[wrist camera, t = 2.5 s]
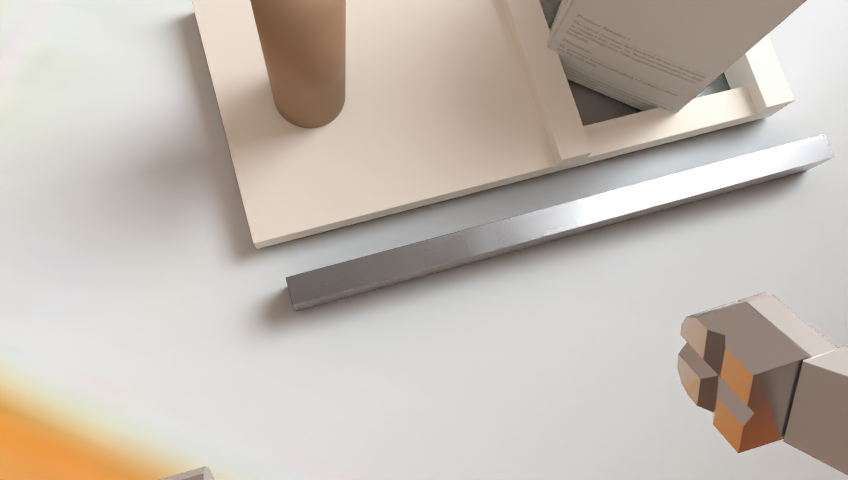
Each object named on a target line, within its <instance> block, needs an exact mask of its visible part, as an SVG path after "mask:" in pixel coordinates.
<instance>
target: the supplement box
mask: <svg viewBox="0 0 848 480" xmlns="http://www.w3.org/2000/svg"><path fill="white" fill-rule="evenodd" d="M805 1H806V0H562V1H561V3H560V6H559V8H558V11H557V13H556V15H555V18H554V20H553V23H552V25H551V28H550V35H549V38H548V40H547V47H548V48H549V49H551V50H553V51H555V52H557V53H558V55H559V58H560V61H561V64H562V67H563V69H564V72H565V75H566V78H567V79H569V80H571V81H574V82H576V83H578V84H581V85H583V86H585V87H588V88H590V89H592V90H595V91H597V92H599V93H602V94H604V95H606V96H609V97H611V98H613V99H616V100H618V101H620V102H623V103H625V104H627V105H630V106H632V107H634V108H637V109H639V110H641V111H646V110H650V109H654V108H658V107H660V108H663V109H665V110H668V111H671V112H674V113H677V112H679V111H680V110H681V109H682V108H683V107H684V106H686V105H687V104H688V103H689V102H690V101H691V100H692V99H694V98H695V97H696V96H697V95H698V94H699V93H701V92H702V91H703V90H704V89H705V88H706V87H707V86H709V85H710V84H711V83H712V82H713V81H714V80H715V79H717V78H718V77H719V76H720V75H721V74H722V73H723V72H725V71H726V70H727V69H728V68H729V67H730V66H732V65H733V64H734V63H735V62H736V61H737V60H738V59H740V58H741V57H742V56H743V55H744V54H745V53H746V52H748V51H749V50H750V49H751V48H752V47H753V46H755V45H756V44H757V43H758V42H759V41H760V40H761V39H763V38H764V37H765V36H766V35H767V34H768V33H770V32H771V31H772V30H773V29H774V28H775V27H777V26H778V25H779V24H780V23H781V22H782V21H783V20H785V19H786V18H787V17H788V16H789V15H790V14H791V13H793V12H794V11H795V10H796V9H797V8H798V7H799V6H801V5H802V4H803V3H804V2H805Z"/></svg>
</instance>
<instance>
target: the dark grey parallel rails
mask: <svg viewBox="0 0 848 480" xmlns="http://www.w3.org/2000/svg"><path fill="white" fill-rule="evenodd" d="M833 157H834V155H833V153H832V150H831V148H830V145H829V143H828V141H827V138H826V136H825V134H821V135H818V136H814V137H810V138H806V139H803V140H799V141H795V142H791V143H788V144H784V145H780V146H776V147H773V148H769V149H765V150H761V151H758V152H754V153H750V154H746V155H743V156H739V157H735V158H731V159H728V160H724V161H720V162H716V163H713V164H709V165H705V166H702V167H698V168H694V169H690V170H687V171H683V172H679V173H675V174H672V175H668V176H664V177H660V178H657V179H653V180H649V181H645V182H642V183H638V184H634V185H630V186H627V187H623V188H619V189H615V190H612V191H608V192H604V193H601V194H597V195H593V196H589V197H586V198H582V199H578V200H574V201H571V202H567V203H563V204H559V205H556V206H552V207H548V208H544V209H541V210H537V211H533V212H529V213H526V214H522V215H518V216H514V217H511V218H507V219H503V220H499V221H496V222H492V223H488V224H485V225H481V226H477V227H473V228H470V229H466V230H462V231H458V232H455V233H451V234H447V235H443V236H440V237H436V238H432V239H428V240H425V241H421V242H417V243H413V244H410V245H406V246H402V247H398V248H395V249H391V250H387V251H383V252H380V253H376V254H372V255H369V256H365V257H361V258H357V259H354V260H350V261H346V262H342V263H339V264H335V265H331V266H327V267H324V268H320V269H316V270H312V271H309V272H305V273H301V274H297V275H294V276H290V277H286V281H287V285H288V289H289V293H290V297H291V300H292V304H293V307H294V308H295V310H296V311H298V310H302V309H305V308H309V307H313V306H316V305H320V304H323V303H327V302H331V301H334V300H338V299H342V298H345V297H349V296H352V295H356V294H360V293H363V292H367V291H371V290H374V289H378V288H381V287H385V286H389V285H392V284H396V283H400V282H403V281H407V280H410V279H414V278H418V277H421V276H425V275H429V274H432V273H436V272H439V271H443V270H447V269H450V268H454V267H458V266H461V265H465V264H468V263H472V262H476V261H479V260H483V259H487V258H490V257H494V256H497V255H501V254H505V253H508V252H512V251H516V250H519V249H523V248H527V247H530V246H534V245H537V244H541V243H545V242H548V241H552V240H556V239H559V238H563V237H566V236H570V235H574V234H577V233H581V232H585V231H588V230H592V229H595V228H599V227H603V226H606V225H610V224H614V223H617V222H621V221H624V220H628V219H632V218H635V217H639V216H643V215H646V214H650V213H653V212H657V211H661V210H664V209H668V208H672V207H675V206H679V205H682V204H686V203H690V202H693V201H697V200H701V199H704V198H708V197H711V196H715V195H719V194H722V193H726V192H730V191H733V190H737V189H740V188H744V187H748V186H751V185H755V184H759V183H762V182H766V181H769V180H773V179H777V178H780V177H784V176H788V175H791V174H795V173H798V172H802V171H806V170H809V169H811V168H813V167H815V166H817V165H819V164H821V163H823V162H825V161H827V160H829V159H831V158H833Z"/></svg>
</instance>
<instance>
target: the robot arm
mask: <svg viewBox="0 0 848 480" xmlns="http://www.w3.org/2000/svg"><path fill="white" fill-rule="evenodd" d="M681 336H682V337H683V338H684V339H685V340H686V341H687V343H686V345H685V346H684V347H683V349H682V350H681V351H680V353H679V354H678V372H679V375H680V379H681V382H682V385H683V386H684V388H685V390H686V392H687V394H688V395H689V396H690V398H691V399H692V400H693V401H694V402H695V404H696V405H697V406H699V407H702V408H704V409H707V410H709V411H711V412H713V425H714V426H715V427H716V428H717V429H718V430H719V432H720V433H721V434H722V435H723V436H724V437H725V438H726V440H727V441H728V442H729V443H730V444H731V445H732V446H733V448H734V449H735V450H736V451H737V452H738V453H741V452H744V451H747V450H750V449H753V448H756V447H759V446H762V445H766V444H769V443H772V442H775V441H778V440H781V439H784V442H785V443H787V444H789V445H791V446H793V447H795V448H797V449H799V450H801V451H803V452H805V453H807V454H808V455H810V456H812V457H814V458H816V459H818V460H820V461H822V462H824V463H826V464H828V465H830V466H831V467H833V468H835V469H837V470H839V471H841V472H843V473H845V474H847V475H848V347H846V346H845V347H842V348H837V347H835V346H834V345H833V344H832V343H831V342H829V341H828V340H827V339H826V338H824V337H823V336H822V335H821V334H820V333H818V332H817V331H816V330H815V329H814V328H812V327H811V326H810V325H809V324H807V323H806V322H805V321H804V320H803V319H801V318H800V317H799V316H798V315H797V314H795V313H794V312H793V311H792V310H790V309H789V308H788V307H787V306H786V305H784V304H783V303H782V302H781V301H780V300H778V299H777V298H776V297H775V296H773V295H771V294H768V293H765V292H763V293H760V294H757V295H754V296H751V297H748V298H744V299H741V300H739V301H737V302H731V303H728V304H725V305H722V306H719V307H716V308H713V309H710V310H706V311H703V312H700V313H697V314H694V315H691V316H688V317H686V318H685V320H684V321H683V323H682V328H681ZM159 480H215V479H214V477H213V475H212V473H211V471H210V469H209V467H202V468H198V469H195V470H191V471H188V472H184V473H181V474H177V475H174V476H170V477H167V478H163V479H159Z"/></svg>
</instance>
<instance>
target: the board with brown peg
mask: <svg viewBox="0 0 848 480" xmlns="http://www.w3.org/2000/svg"><path fill="white" fill-rule="evenodd" d="M192 3H193V7H194V11H195V15H196V19H197V23H198V27H199V31H200V35H201V39H202V43H203V47H204V51H205V55H206V59H207V63H208V66H209V70H210V74H211V78H212V82H213V86H214V90H215V94H216V98H217V102H218V106H219V110H220V114H221V118H222V122H223V126H224V129H225V133H226V137H227V141H228V145H229V149H230V153H231V157H232V161H233V165H234V169H235V173H236V177H237V181H238V185H239V189H240V193H241V196H242V200H243V204H244V208H245V212H246V216H247V220H248V224H249V228H250V232H251V236H252V240H253V244H254V245H255V247H256V249H259V248H263V247H267V246H271V245H275V244H278V243H282V242H286V241H290V240H294V239H298V238H302V237H306V236H309V235H313V234H317V233H321V232H325V231H329V230H333V229H336V228H340V227H344V226H348V225H352V224H356V223H360V222H363V221H367V220H371V219H375V218H379V217H383V216H387V215H390V214H394V213H398V212H402V211H406V210H410V209H414V208H418V207H421V206H425V205H429V204H433V203H437V202H441V201H445V200H448V199H452V198H456V197H460V196H464V195H468V194H472V193H475V192H479V191H483V190H487V189H491V188H495V187H499V186H503V185H506V184H510V183H514V182H518V181H522V180H526V179H530V178H533V177H537V176H541V175H545V174H549V173H553V172H557V171H560V170H564V169H568V168H572V167H576V166H580V165H584V164H588V163H591V162H595V161H599V160H603V159H607V158H611V157H615V156H618V155H622V154H626V153H630V152H634V151H638V150H642V149H645V148H649V147H653V146H657V145H661V144H665V143H669V142H673V141H676V140H680V139H684V138H688V137H692V136H696V135H700V134H703V133H707V132H711V131H715V130H719V129H723V128H727V127H730V126H734V125H738V124H742V123H746V122H750V121H754V120H757V119H761V118H765V117H769V116H771V115H773V114H774V113H776V112H777V111H779V110H780V109H782V108H783V107H785V106H786V105H788V104H789V103H791V102H793V101H794V97H793V95H792V92H791V90H790V88H789V85H788V83H787V80H786V78H785V75H784V73H783V71H782V68H781V66H780V63H779V61H778V58H777V56H776V54H775V51H774V49H773V46H772V44H771V41H770V39H769V37H768V34H767V35H766V36H765V37H764V38H763V39H761V40H760V41H759V42H758V43H757V44H756V45H755V46H753V47H752V48H751V49H750V50H749V51H748V52H746V53H745V54H744V55H743V56H742V57H741V58H740V59H738V60H737V61H736V62H735V63H734V64H733V65H732V66H730V67H729V68H728V69H727V70H726V71H725V72H724V74H725V77H726V79H727V82H728V84H729V87H730V89H731V90H726V91H722V92H718V93H714V94H710V95H706V96H702V97H698V98H694V99H692V100H691V101H690V102H689V103H688V104H687V105H686V106H684V107H683V108H682V109H681V110H680V111H679V112H677V113H674V112H671V111H668V110H665V109H663V108H660V107H658V108H654V109H650V110H646V111H642V112H638V113H634V114H630V115H626V116H622V117H618V118H614V119H610V120H606V121H602V122H598V123H594V124H590V125H586V126H583V123H582V121H581V118H580V115H579V112H578V109H577V106H576V104H575V101H574V98H573V95H572V92H571V89H570V86H569V84H568V81H567V78H566V75H565V72H564V69H563V67H562V64H561V61H560V58H559V55H558V53H557V52H555V51H553V50H551V49H549V48H548V47H547V40H548V38H549V35H550V30H549V27H548V24H547V21H546V18H545V15H544V13H543V10H542V7H541V4H540V1H539V0H192Z"/></svg>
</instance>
